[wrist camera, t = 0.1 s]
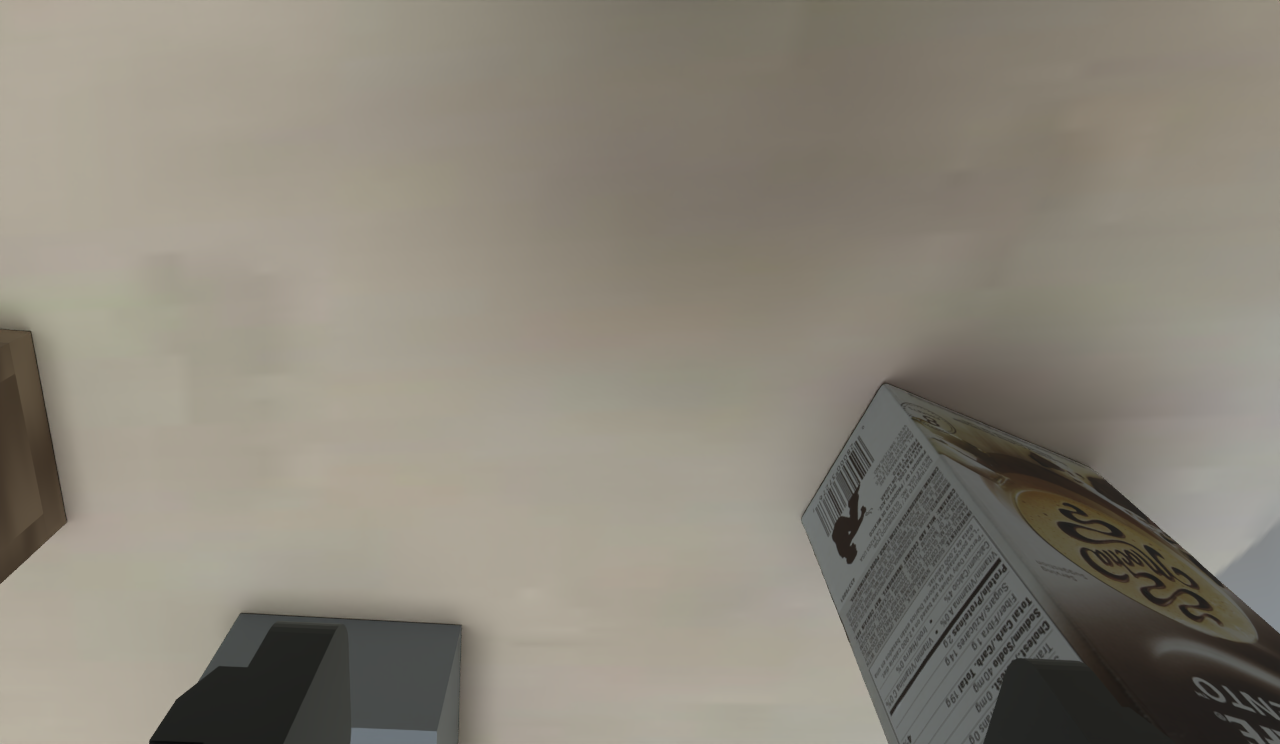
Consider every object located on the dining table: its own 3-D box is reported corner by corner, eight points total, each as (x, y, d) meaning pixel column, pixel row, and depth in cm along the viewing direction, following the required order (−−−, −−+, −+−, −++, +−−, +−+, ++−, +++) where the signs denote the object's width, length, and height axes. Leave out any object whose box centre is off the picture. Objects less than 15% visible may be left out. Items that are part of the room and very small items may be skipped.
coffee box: (1100, 463, 29) (1623, 917, 14) (1000, 600, 31) (1364, 1117, 16) (880, 372, 27) (1217, 783, 12) (791, 524, 29) (987, 1028, 15)
